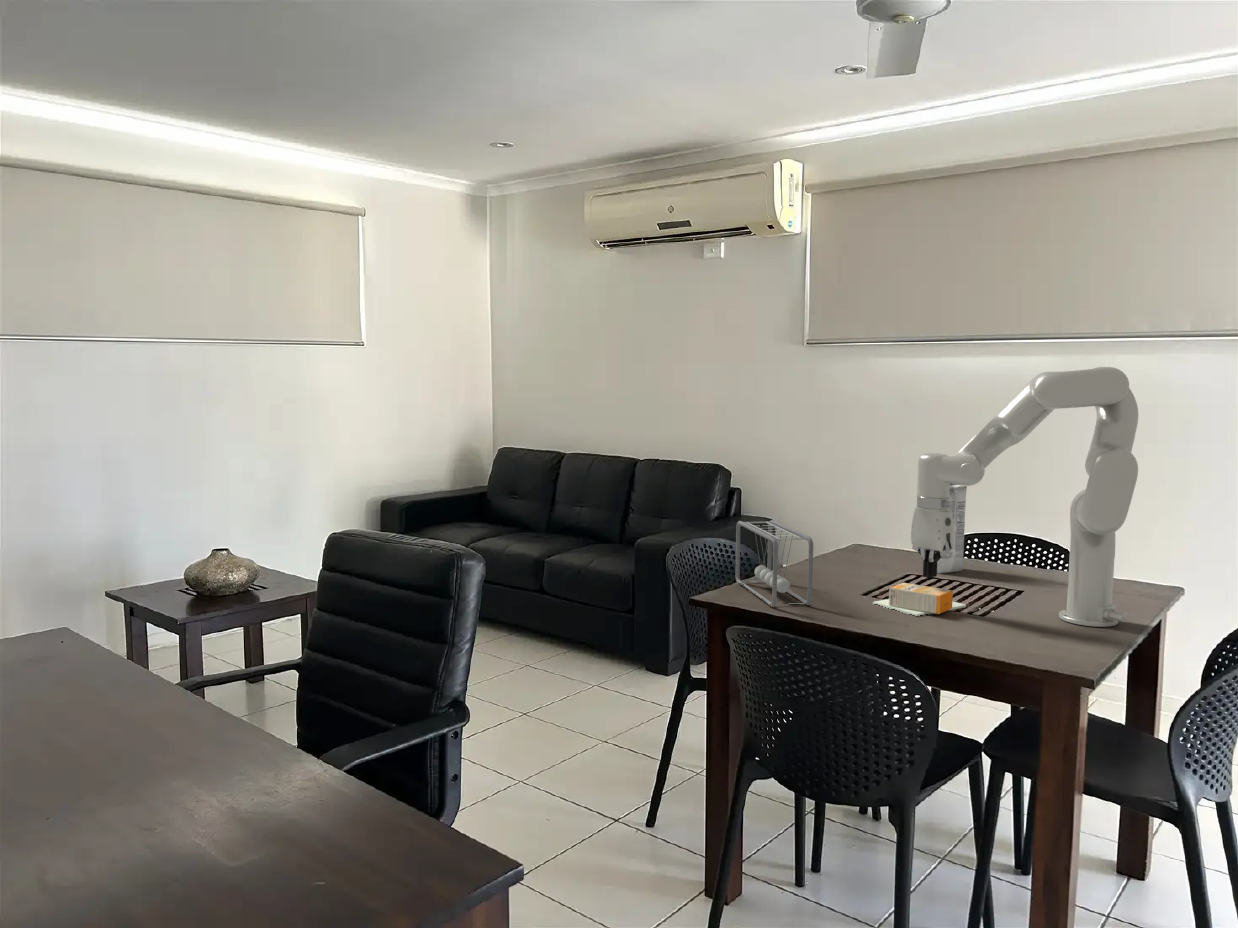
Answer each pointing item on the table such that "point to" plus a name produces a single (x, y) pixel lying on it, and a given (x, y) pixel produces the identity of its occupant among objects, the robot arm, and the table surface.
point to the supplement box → (920, 598)
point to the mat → (910, 611)
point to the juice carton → (955, 530)
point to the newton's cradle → (774, 560)
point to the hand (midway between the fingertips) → (929, 576)
